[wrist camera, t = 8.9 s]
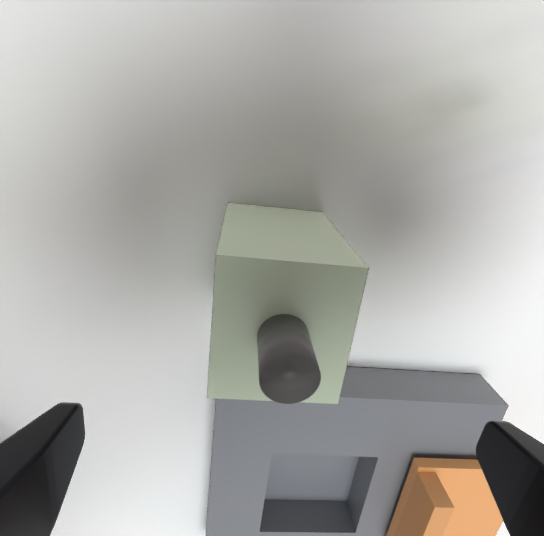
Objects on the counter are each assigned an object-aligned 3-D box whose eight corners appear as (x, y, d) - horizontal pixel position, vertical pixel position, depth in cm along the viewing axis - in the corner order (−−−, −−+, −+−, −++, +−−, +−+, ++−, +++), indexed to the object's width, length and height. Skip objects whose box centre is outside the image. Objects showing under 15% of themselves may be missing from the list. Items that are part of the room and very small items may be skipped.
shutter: (383, 542, 22) (399, 592, 20) (413, 457, 19) (436, 503, 17) (479, 543, 23) (506, 591, 20) (521, 460, 20) (556, 505, 18)
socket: (206, 530, 25) (202, 573, 22) (220, 359, 20) (216, 390, 17) (416, 533, 26) (433, 572, 24) (480, 374, 21) (508, 405, 19)
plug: (220, 300, 18) (199, 448, 10) (227, 202, 17) (209, 284, 8) (306, 306, 19) (353, 453, 11) (322, 212, 17) (395, 299, 9)
